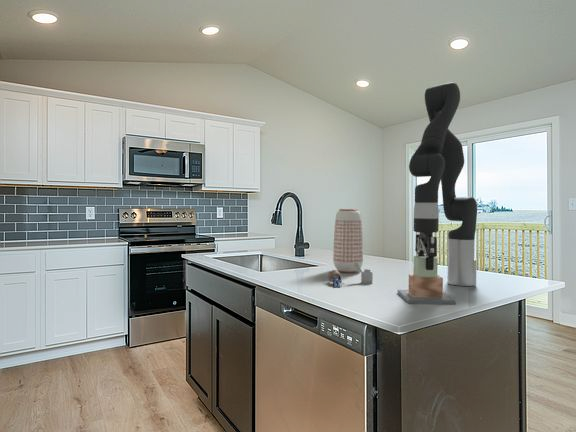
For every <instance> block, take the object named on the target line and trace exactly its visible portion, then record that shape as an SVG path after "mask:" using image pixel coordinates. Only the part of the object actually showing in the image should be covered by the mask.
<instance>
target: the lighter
mask: <svg viewBox="0 0 576 432" xmlns="http://www.w3.org/2000/svg"><path fill="white" fill-rule="evenodd" d="M354 265H355V267H356V269H357V272H356V273H358V274H359V273H361V275H360V276H361V278H360V281H361V282H360V283H361V284H373V275H374V274H373V272H374V271H371V269H370V268H365V269H363V270H362V269H361V268H362V267H361V268H360V266H359V264H358V262H355V263H354Z"/></svg>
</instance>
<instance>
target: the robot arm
mask: <svg viewBox="0 0 576 432" xmlns="http://www.w3.org/2000/svg"><path fill="white" fill-rule="evenodd" d="M460 102H461V91H460V87H459V86H458V84H457V82H454V81H452V82H451V81H450V82H445V83H442V84H441V83H440V84H438V85H434V86H431V87H427V88H426V89H425V92H424V103H425V108H426V113H427V115H428V120H429V123H428V124H427V126H426V127H425V129H424V131H423V134H422V138H421V141H420V145H418V147H417V148H416V150H415V151H414V153H413V155H412V156H411V158H410V160H409V162H408V163H409V165H408V170H409V172H410V174H411V175H412V176H413V177H416V178H422V177H423V178H425V177H430V178H429V179H428V180H427V182H425V183H420V184H417V185H416V186H415V187H414V206H413V227H412V228H413V232H415V233H416V234H415V245H414V246H415V249H414V251H415V252H416V254H417V256H426V270H433V269H434V258H437V257H438V238H437V236H433V233H435V234H436V233H439V223H440V221H439V219H440V218H439V217H440V216H439V215H440V214H439V213H440V210H439V188H440V184H441V194H442V195H441V196H442V205H443V206H442V209H443V213H444V216H445V218H446V220H448V221H452V222H453V221H454V222H461V225H460V226H459V227H457V228H455V229H452V230H449V232H448V235H447V238H448V239H447V277H446V278H447V284H448V285H452V286H459V287H460V286H462V287H473V286H476V285H477V263H478V262H477V259H475V243H476V242H475V237H476V232H477V217H478V216H477V215H478V203H477V201H476V199H475V198H474V197H473V196H456V183H457V180H458V178H459V176H460V175H461V172H462V170H463V169H464V165H465V153H464V150H463V145H462V142H461V141H460V140H459V138H458V137H457V136H456V135H455V134H454V133H453V132H452V131H451V130H450V129H449V127H450V124H451V123H452V121H453V119H454V116H455V115H456V112H457V110H458V108H459V105H460Z"/></svg>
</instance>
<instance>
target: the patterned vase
mask: <svg viewBox="0 0 576 432" xmlns="http://www.w3.org/2000/svg"><path fill="white" fill-rule="evenodd" d="M333 232H334V233H333V250H332V251H333V254H332V255H333V257H332V260H333V261H332V262H333V265H334V267H335V270H337V271H338V272H340V273H344V274H355V273H358V272H357V269H356V267H355V265H354V263H355V262H358V264H359V266H360V268H362V266H363V263H364V251H363V250H364V245H363V243H364V241H363V222H362V214H361V213H360V211H359V209H356V208H354V209H352V208H351V209H350V208H349V209H348V208H346V209H345V208H342V209H341V208H339V210H338V211H337V212H336V214H335V222H334V231H333Z"/></svg>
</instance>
